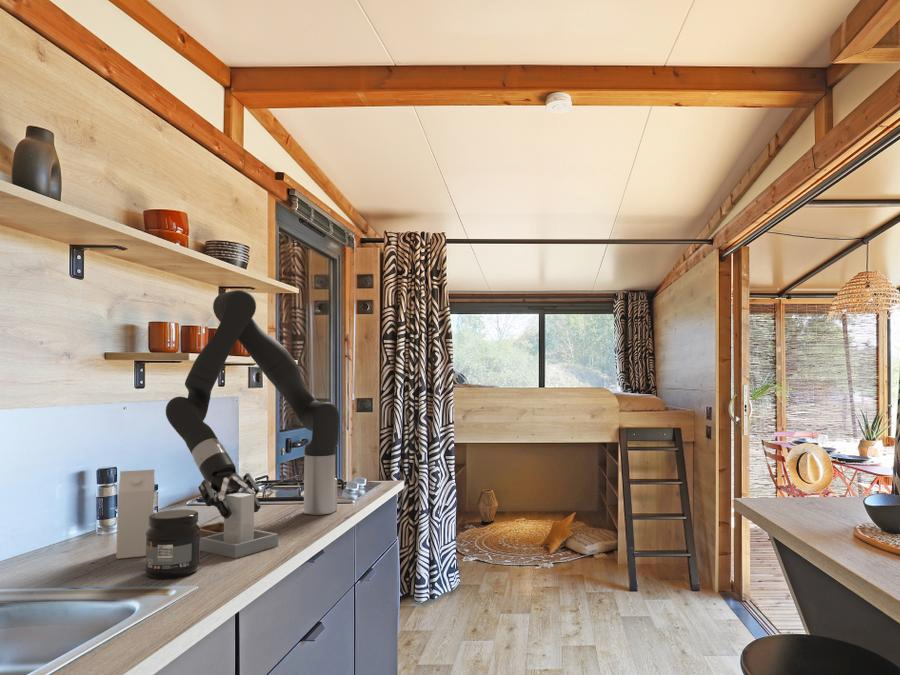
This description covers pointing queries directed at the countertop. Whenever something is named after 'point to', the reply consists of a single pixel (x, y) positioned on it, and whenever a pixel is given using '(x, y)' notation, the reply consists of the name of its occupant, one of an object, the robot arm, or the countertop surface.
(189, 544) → the supplement container
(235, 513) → the skincare box
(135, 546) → the milk carton
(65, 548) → the countertop surface
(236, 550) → the tray
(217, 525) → the holder
